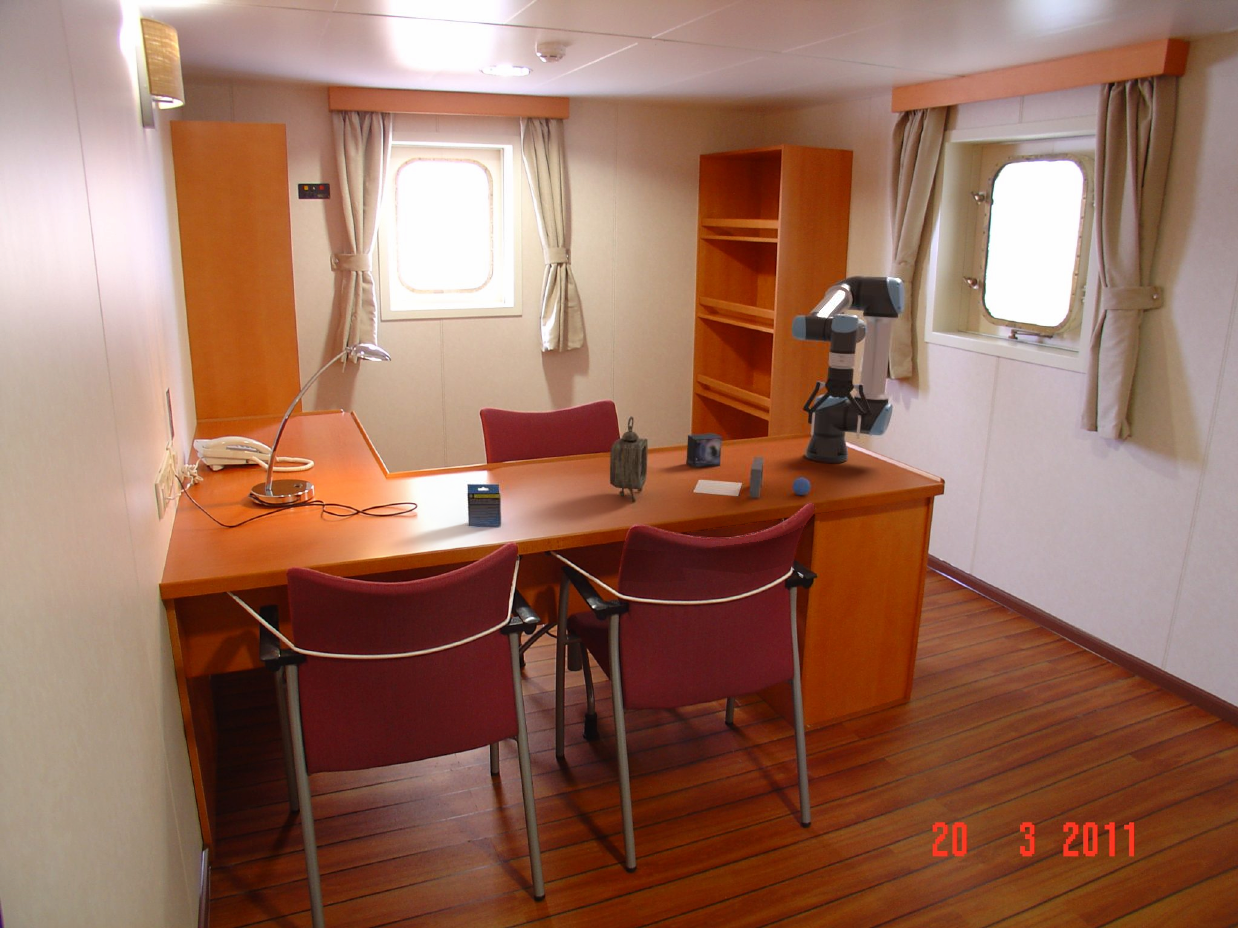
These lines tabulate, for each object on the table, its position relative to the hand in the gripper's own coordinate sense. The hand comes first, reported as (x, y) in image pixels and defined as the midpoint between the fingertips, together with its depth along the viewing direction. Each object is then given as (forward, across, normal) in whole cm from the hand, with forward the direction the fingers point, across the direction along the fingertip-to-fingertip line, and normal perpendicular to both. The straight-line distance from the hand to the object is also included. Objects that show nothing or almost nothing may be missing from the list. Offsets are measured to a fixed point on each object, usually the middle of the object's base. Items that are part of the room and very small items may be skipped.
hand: (834, 436), depth 273 cm
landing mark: (+20, -35, 0) cm, 40 cm away
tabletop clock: (+20, -60, -17) cm, 66 cm away
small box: (+19, -43, +26) cm, 54 cm away
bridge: (+20, -23, 0) cm, 30 cm away
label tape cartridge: (+22, -93, -53) cm, 109 cm away
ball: (+17, -9, 0) cm, 19 cm away
